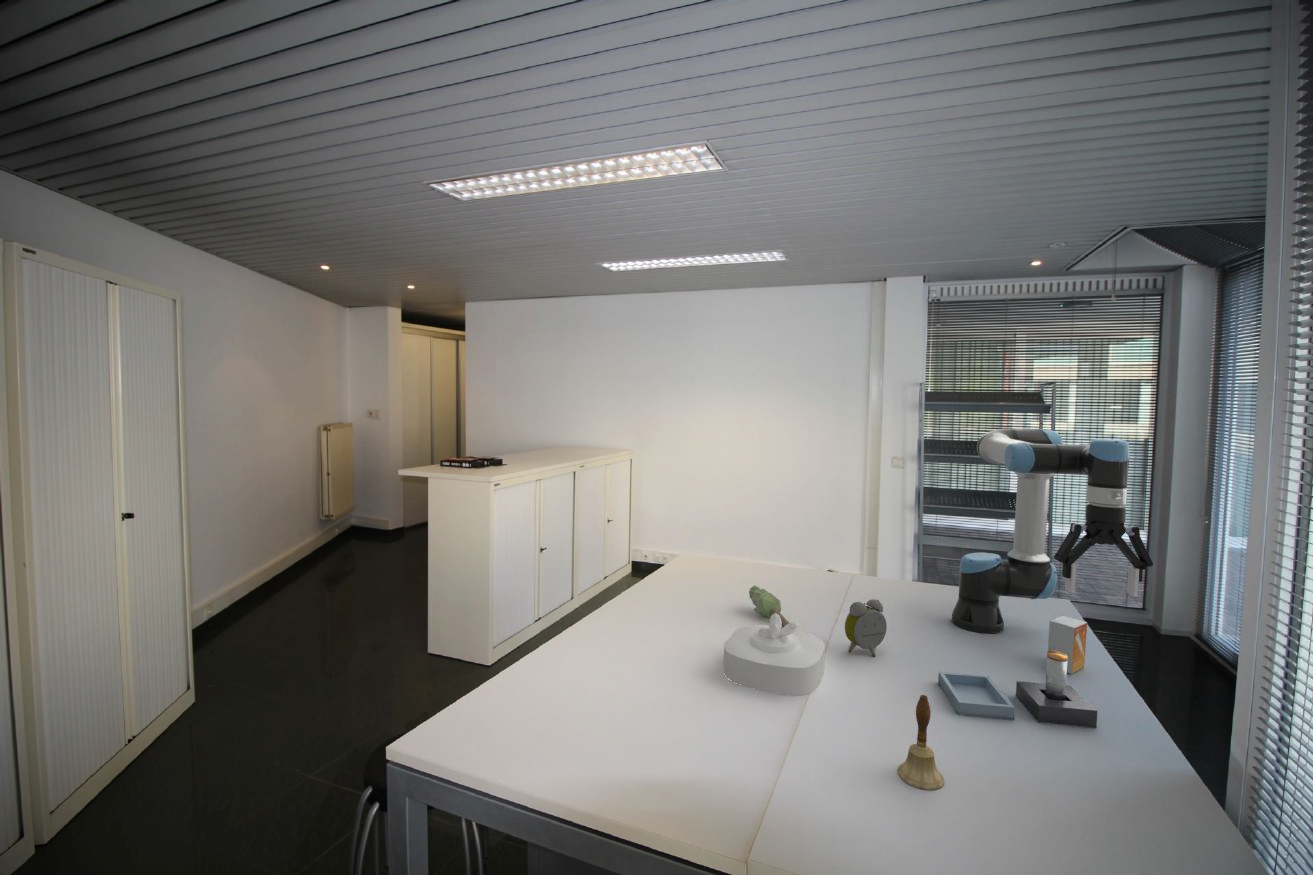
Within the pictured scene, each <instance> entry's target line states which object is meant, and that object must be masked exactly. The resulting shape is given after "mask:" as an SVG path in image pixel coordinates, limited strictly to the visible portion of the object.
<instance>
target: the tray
mask: <svg viewBox="0 0 1313 875" xmlns="http://www.w3.org/2000/svg"><path fill="white" fill-rule="evenodd" d="M937 674H938V675H937V676H938V678H937V680H938V681H937V683H938V686H940V688H941V690H942V691H943V693H944V694H945V696H946V697H948V698H947V699H948V701H949V702H950V703H951V705H952V707H953V709H954V710H955V711H956V713H957V715H958V716H965V717H967V716H968V717H977V718H988V719H998V720H1009V721H1015V718H1016V717H1015V715H1016V707H1015V705H1014V704H1013V703H1012V702H1011V701H1010V699H1009V698H1008V697H1007V695H1005V693H1003V691H1002V690H1001V689H1000V688H999V686H998V685H997V684H996V683H995V681H994V680H993V679H992V678H991V677H990V676H989V675H984V674H983V675H982V674H969V673H960V672H959V673H957V672H949V671H947V672H946V671H938V673H937Z"/></svg>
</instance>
